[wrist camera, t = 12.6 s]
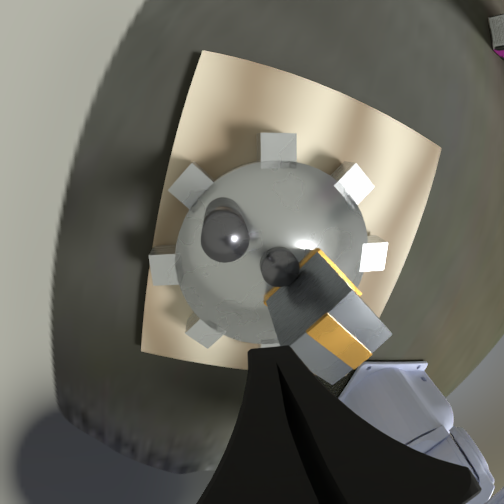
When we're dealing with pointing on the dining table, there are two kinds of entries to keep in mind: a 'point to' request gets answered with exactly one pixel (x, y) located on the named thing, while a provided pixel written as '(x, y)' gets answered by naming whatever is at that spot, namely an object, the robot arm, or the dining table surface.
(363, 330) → the link block
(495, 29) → the candy bar box
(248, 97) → the base board
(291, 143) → the sprocket
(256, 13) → the dining table surface
